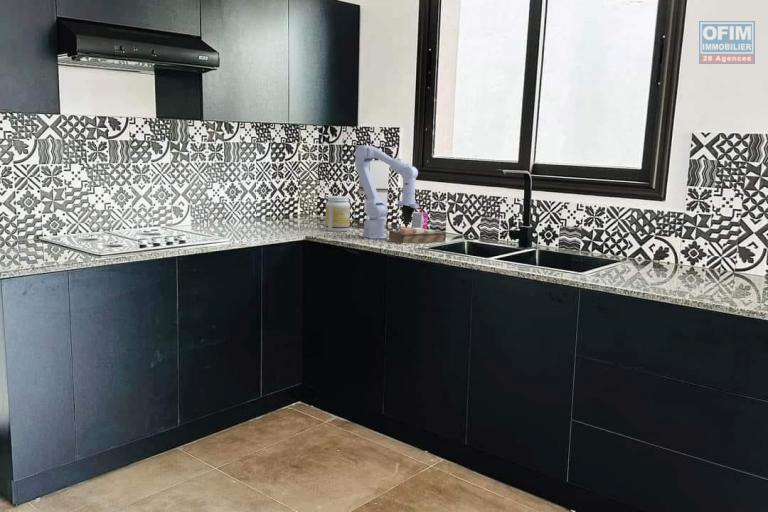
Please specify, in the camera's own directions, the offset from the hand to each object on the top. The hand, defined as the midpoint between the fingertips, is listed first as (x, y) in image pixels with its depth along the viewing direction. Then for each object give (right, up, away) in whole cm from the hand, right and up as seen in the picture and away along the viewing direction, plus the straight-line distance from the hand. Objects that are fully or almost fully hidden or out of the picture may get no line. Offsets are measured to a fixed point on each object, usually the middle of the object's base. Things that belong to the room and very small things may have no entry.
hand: (406, 222), depth 319 cm
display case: (-17, -1, +42) cm, 46 cm away
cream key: (+5, -6, +5) cm, 9 cm away
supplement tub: (-34, -3, +26) cm, 43 cm away
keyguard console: (+5, -9, +5) cm, 11 cm away
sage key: (+11, -7, +8) cm, 15 cm away
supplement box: (+7, -6, +25) cm, 26 cm away
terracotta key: (0, -6, +1) cm, 7 cm away
